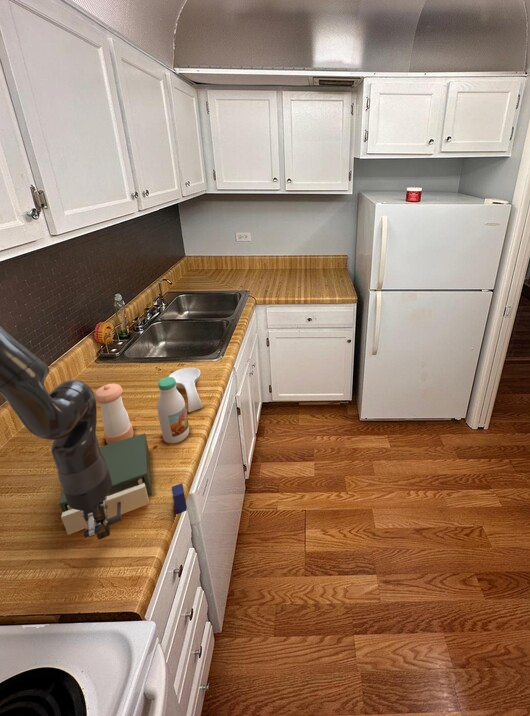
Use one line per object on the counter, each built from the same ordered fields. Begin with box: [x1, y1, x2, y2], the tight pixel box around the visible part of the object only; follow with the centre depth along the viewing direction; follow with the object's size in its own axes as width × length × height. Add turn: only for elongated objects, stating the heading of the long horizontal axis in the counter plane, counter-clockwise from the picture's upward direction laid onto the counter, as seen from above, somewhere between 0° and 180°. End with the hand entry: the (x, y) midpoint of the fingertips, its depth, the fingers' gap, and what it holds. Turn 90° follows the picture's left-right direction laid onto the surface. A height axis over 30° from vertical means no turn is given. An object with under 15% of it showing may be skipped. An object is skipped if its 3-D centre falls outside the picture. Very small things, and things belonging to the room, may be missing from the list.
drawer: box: [60, 477, 150, 536], centre depth 80 cm, size 18×16×6 cm
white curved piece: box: [168, 366, 204, 413], centre depth 121 cm, size 24×12×7 cm, turn 32°
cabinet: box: [58, 432, 153, 513], centre depth 85 cm, size 15×18×8 cm
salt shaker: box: [94, 383, 135, 445], centre depth 98 cm, size 7×7×19 cm
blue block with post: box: [171, 482, 188, 515], centre depth 82 cm, size 2×7×6 cm, turn 27°
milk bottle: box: [156, 376, 190, 444], centre depth 99 cm, size 8×8×20 cm
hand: (104, 534), depth 71 cm, fingers closed
